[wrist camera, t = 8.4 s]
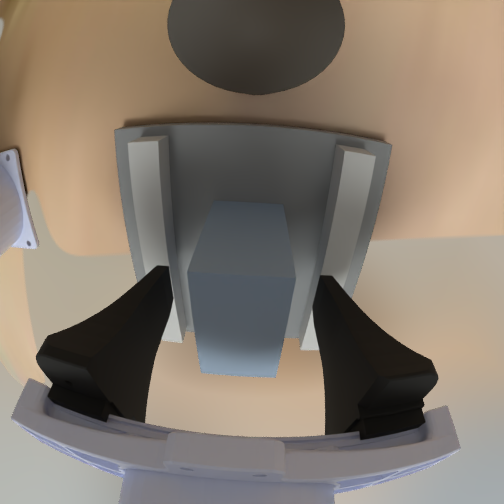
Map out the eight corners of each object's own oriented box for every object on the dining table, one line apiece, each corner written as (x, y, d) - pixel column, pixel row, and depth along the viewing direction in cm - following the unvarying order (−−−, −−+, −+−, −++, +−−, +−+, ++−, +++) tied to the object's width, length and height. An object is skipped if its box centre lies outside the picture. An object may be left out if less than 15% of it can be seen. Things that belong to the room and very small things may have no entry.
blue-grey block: (216, 291, 17) (201, 372, 12) (213, 200, 14) (186, 271, 9) (272, 294, 17) (275, 377, 12) (283, 204, 14) (296, 278, 9)
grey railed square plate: (152, 317, 20) (143, 341, 18) (122, 127, 13) (99, 135, 10) (334, 328, 20) (339, 353, 18) (384, 141, 13) (405, 151, 10)
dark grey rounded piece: (203, 94, 12) (164, 95, 7) (208, 6, 9) (175, -42, 4) (306, 99, 12) (339, 104, 7) (311, 11, 9) (345, -35, 4)
